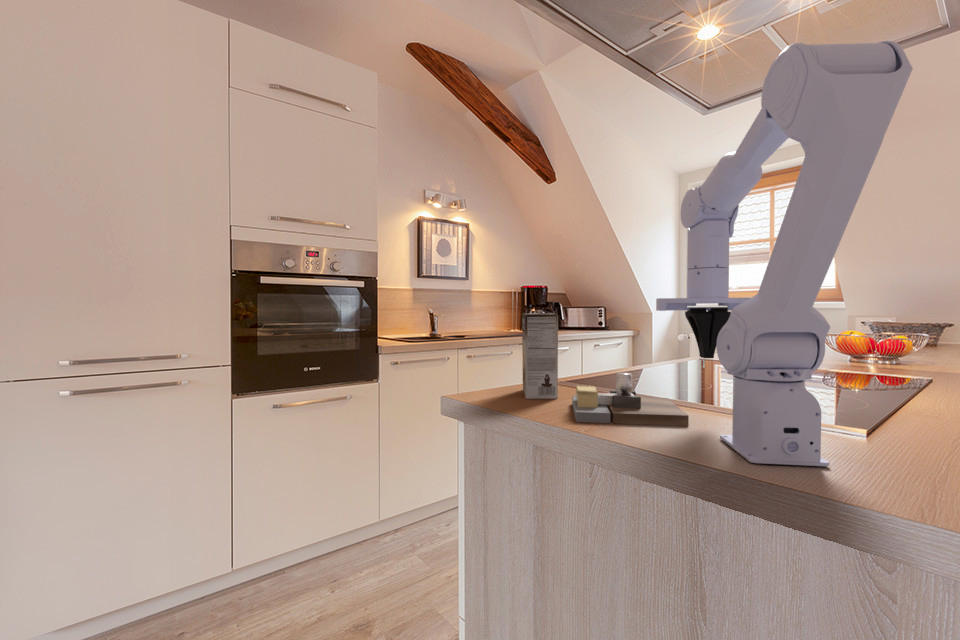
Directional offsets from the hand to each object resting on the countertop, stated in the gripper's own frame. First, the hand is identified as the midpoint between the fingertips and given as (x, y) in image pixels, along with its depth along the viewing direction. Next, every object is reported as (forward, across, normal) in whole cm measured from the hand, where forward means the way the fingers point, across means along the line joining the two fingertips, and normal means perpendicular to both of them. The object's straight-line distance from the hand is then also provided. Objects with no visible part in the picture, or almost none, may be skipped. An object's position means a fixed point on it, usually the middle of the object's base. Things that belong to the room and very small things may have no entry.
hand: (706, 357), depth 68 cm
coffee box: (+10, +26, -15) cm, 32 cm away
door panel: (+9, +9, -1) cm, 13 cm away
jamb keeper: (+9, +18, -1) cm, 20 cm away
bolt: (+8, +15, -1) cm, 17 cm away
